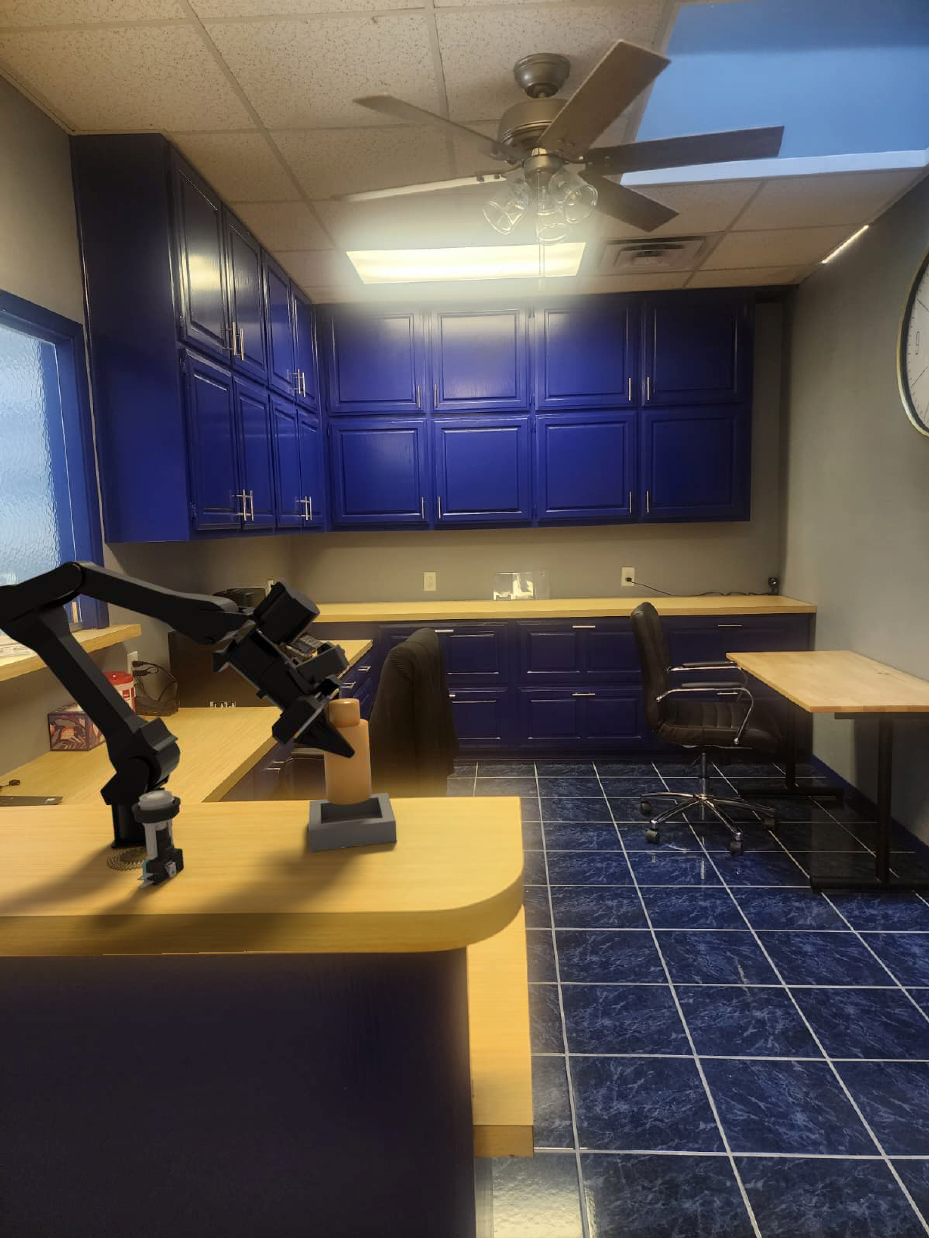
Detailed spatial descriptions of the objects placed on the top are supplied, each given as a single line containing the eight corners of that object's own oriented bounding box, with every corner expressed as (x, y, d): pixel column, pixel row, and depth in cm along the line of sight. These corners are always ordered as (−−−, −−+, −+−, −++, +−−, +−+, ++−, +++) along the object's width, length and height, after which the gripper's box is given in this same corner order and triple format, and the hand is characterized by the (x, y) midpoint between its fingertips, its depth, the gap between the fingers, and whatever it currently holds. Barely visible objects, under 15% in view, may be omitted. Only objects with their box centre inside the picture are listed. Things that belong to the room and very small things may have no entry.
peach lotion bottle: (333, 807, 94) (327, 709, 93) (321, 794, 99) (315, 700, 98) (378, 798, 97) (372, 702, 95) (363, 786, 102) (358, 694, 101)
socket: (310, 851, 92) (308, 830, 92) (310, 820, 103) (309, 800, 103) (396, 841, 94) (395, 820, 94) (388, 811, 105) (387, 792, 105)
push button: (159, 894, 83) (151, 809, 81) (120, 890, 84) (112, 806, 83) (196, 868, 89) (189, 789, 88) (159, 864, 90) (151, 786, 89)
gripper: (291, 634, 86) (389, 722, 87) (323, 618, 105) (404, 690, 106) (230, 702, 87) (327, 788, 88) (273, 673, 106) (352, 745, 107)
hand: (356, 748), depth 97 cm, fingers closed on peach lotion bottle, 6 cm apart
